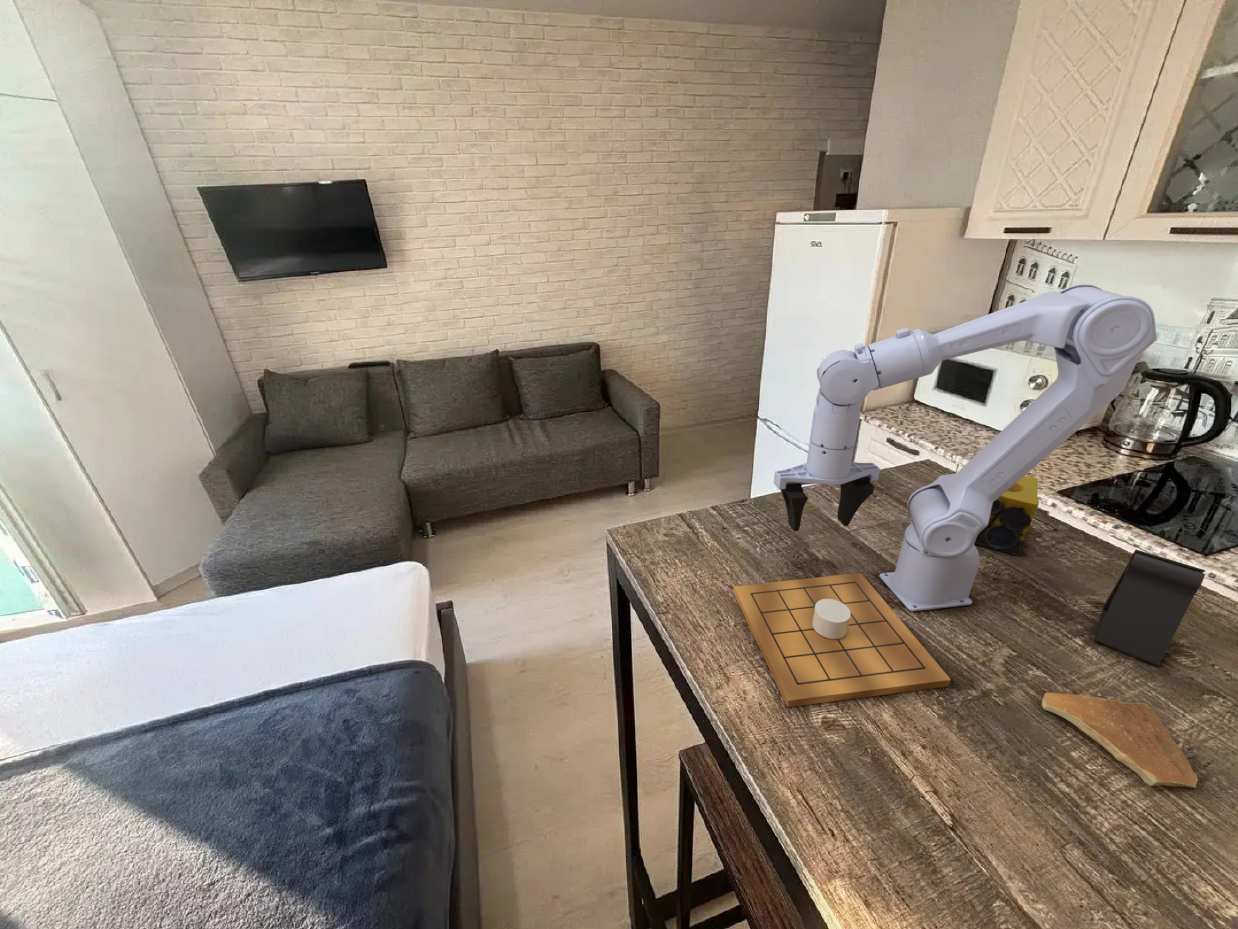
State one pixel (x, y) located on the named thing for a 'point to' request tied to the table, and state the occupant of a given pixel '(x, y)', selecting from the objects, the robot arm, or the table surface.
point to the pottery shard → (1127, 736)
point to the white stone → (831, 618)
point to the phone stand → (1147, 606)
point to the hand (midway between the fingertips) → (818, 524)
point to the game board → (835, 642)
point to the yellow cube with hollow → (1011, 517)
